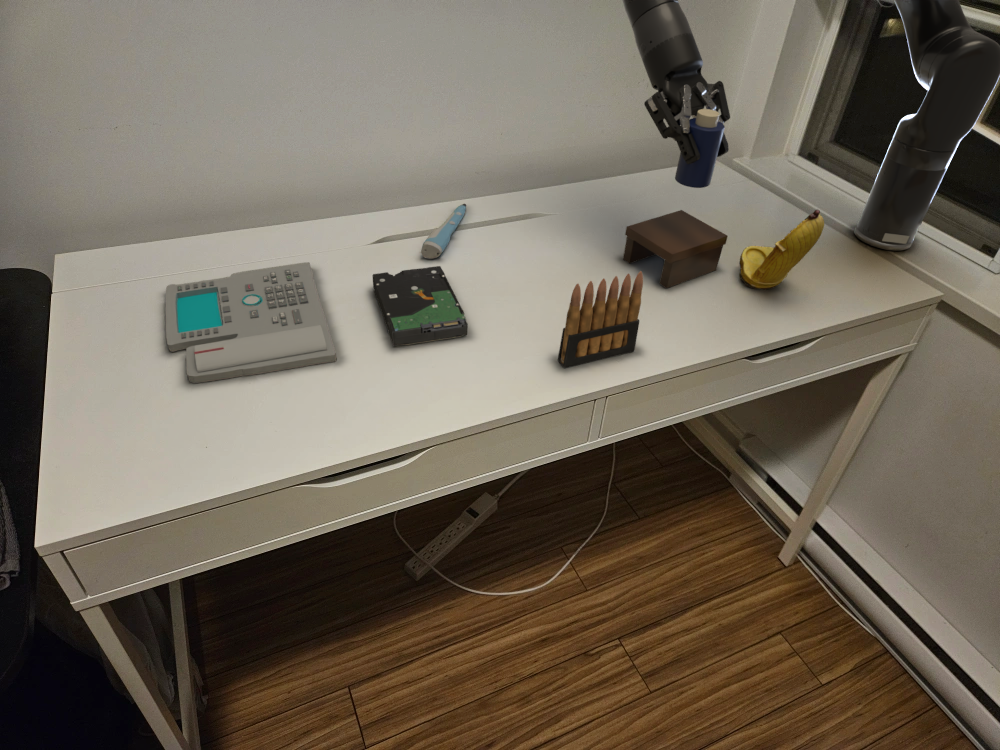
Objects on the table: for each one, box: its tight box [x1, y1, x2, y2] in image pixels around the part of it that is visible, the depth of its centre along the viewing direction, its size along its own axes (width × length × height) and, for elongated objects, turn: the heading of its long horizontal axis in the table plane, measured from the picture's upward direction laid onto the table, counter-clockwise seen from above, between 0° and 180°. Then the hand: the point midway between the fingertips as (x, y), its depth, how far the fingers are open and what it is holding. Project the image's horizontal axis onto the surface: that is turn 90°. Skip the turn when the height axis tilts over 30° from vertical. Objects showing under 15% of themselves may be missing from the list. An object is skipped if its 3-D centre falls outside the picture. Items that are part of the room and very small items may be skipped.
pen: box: [420, 203, 467, 259], centre depth 115 cm, size 19×3×3 cm, turn 166°
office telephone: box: [165, 261, 338, 384], centre depth 92 cm, size 23×3×20 cm
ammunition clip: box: [557, 270, 644, 369], centre depth 88 cm, size 11×2×12 cm, turn 113°
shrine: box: [738, 209, 825, 291], centre depth 103 cm, size 12×8×15 cm
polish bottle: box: [674, 108, 725, 189], centre depth 100 cm, size 5×5×10 cm
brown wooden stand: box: [622, 209, 729, 289], centre depth 109 cm, size 12×10×6 cm
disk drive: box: [372, 265, 469, 347], centre depth 96 cm, size 10×3×15 cm
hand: (708, 157), depth 99 cm, fingers closed on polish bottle, 5 cm apart
